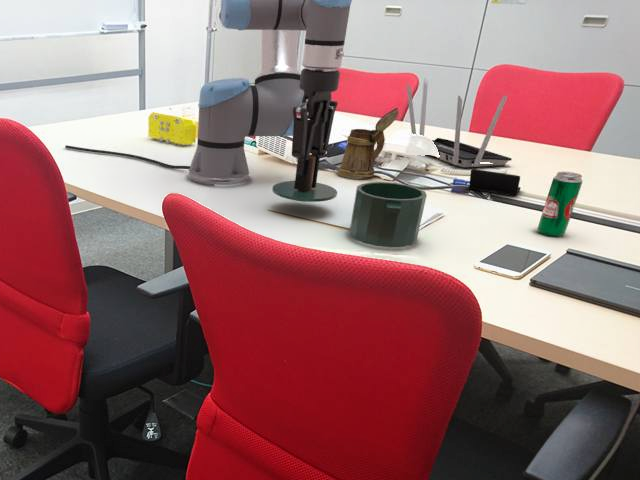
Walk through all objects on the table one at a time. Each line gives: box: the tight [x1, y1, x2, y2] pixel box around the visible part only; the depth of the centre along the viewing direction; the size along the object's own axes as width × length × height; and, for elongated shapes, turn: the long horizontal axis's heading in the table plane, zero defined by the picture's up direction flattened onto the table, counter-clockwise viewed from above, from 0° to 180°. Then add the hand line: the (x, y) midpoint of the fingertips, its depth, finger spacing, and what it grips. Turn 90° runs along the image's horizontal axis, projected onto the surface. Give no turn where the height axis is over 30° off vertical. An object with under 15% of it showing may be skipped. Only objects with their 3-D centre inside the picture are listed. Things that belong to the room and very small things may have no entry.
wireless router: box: [406, 77, 513, 168], centre depth 185 cm, size 34×23×20 cm
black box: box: [468, 168, 521, 197], centre depth 159 cm, size 12×7×10 cm
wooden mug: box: [337, 107, 399, 180], centre depth 166 cm, size 9×14×18 cm, turn 36°
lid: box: [272, 154, 338, 203], centre depth 138 cm, size 14×14×8 cm
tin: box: [348, 181, 428, 248], centre depth 126 cm, size 13×18×10 cm
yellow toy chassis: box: [147, 111, 197, 147], centre depth 202 cm, size 16×6×8 cm, turn 44°
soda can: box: [536, 171, 583, 238], centre depth 130 cm, size 5×5×12 cm
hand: (304, 187), depth 139 cm, fingers closed on lid, 3 cm apart
